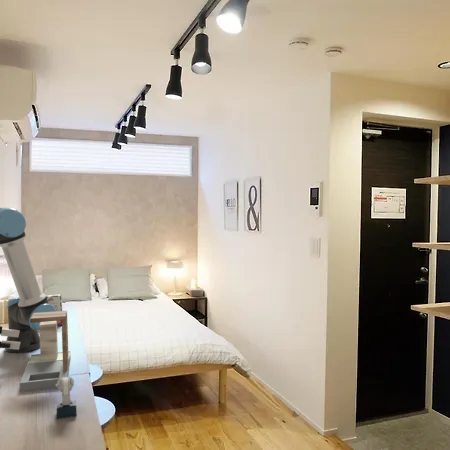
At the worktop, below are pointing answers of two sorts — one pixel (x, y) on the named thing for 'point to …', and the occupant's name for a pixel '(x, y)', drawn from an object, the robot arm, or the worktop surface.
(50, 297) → the candy bar box
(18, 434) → the worktop surface
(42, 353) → the cream block
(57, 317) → the walnut tunnel
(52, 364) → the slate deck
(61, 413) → the watch
